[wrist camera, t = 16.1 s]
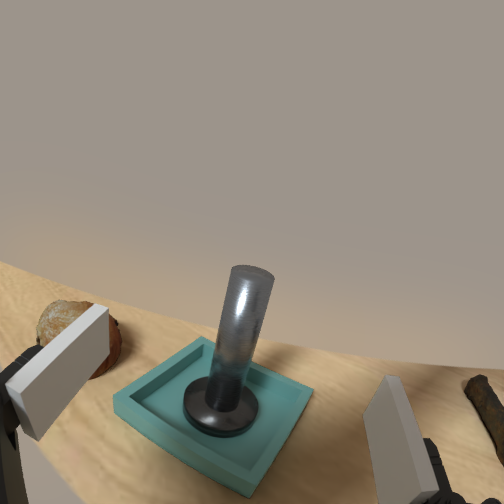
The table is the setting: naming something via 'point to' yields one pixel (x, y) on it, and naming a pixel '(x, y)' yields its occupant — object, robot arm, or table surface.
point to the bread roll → (65, 314)
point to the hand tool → (488, 410)
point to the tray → (204, 446)
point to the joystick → (231, 359)
